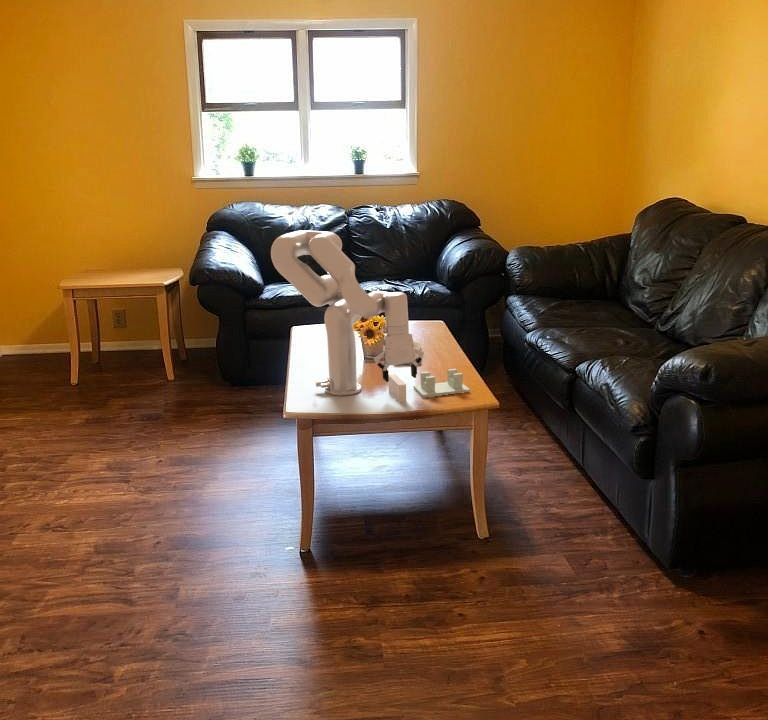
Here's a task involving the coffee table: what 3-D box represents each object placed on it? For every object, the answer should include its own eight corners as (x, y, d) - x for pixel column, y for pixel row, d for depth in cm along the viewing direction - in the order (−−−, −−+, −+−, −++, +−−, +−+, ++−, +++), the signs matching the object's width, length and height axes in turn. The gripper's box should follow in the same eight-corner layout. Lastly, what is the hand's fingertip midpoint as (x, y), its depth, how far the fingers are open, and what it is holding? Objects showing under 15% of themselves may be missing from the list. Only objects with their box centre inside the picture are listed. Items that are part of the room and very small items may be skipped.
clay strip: (406, 401, 253) (406, 384, 251) (399, 402, 252) (398, 385, 250) (395, 390, 264) (395, 374, 262) (388, 391, 263) (388, 374, 262)
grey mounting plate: (422, 398, 255) (422, 380, 254) (413, 389, 265) (413, 371, 263) (469, 392, 260) (470, 374, 258) (458, 383, 269) (459, 366, 267)
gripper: (375, 335, 245) (378, 385, 250) (425, 328, 250) (428, 378, 255) (369, 330, 252) (372, 379, 257) (418, 324, 257) (420, 372, 262)
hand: (400, 378), depth 256 cm, fingers open, 9 cm apart
